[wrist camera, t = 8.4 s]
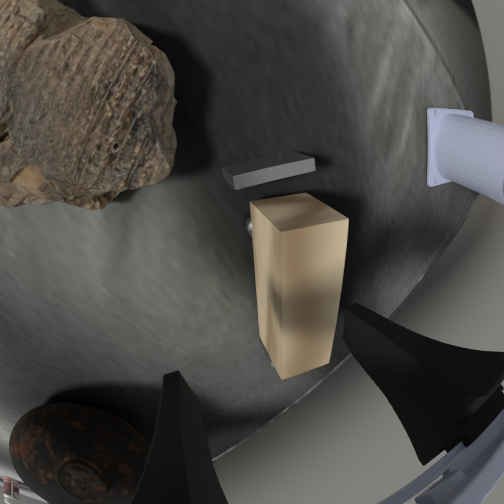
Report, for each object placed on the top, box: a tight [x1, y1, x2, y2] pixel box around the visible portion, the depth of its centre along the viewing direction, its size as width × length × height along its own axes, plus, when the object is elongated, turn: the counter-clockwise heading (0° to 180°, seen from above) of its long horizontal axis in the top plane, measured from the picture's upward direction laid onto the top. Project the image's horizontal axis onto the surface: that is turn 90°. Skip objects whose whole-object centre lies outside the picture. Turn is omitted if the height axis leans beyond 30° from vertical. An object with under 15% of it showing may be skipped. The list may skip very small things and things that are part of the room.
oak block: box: [250, 193, 349, 380], centre depth 19 cm, size 4×12×5 cm, turn 4°
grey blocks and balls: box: [221, 151, 315, 367], centre depth 21 cm, size 5×17×3 cm, turn 10°
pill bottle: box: [3, 477, 19, 504], centre depth 26 cm, size 5×5×8 cm
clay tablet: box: [0, 0, 177, 210], centre depth 10 cm, size 14×5×20 cm
